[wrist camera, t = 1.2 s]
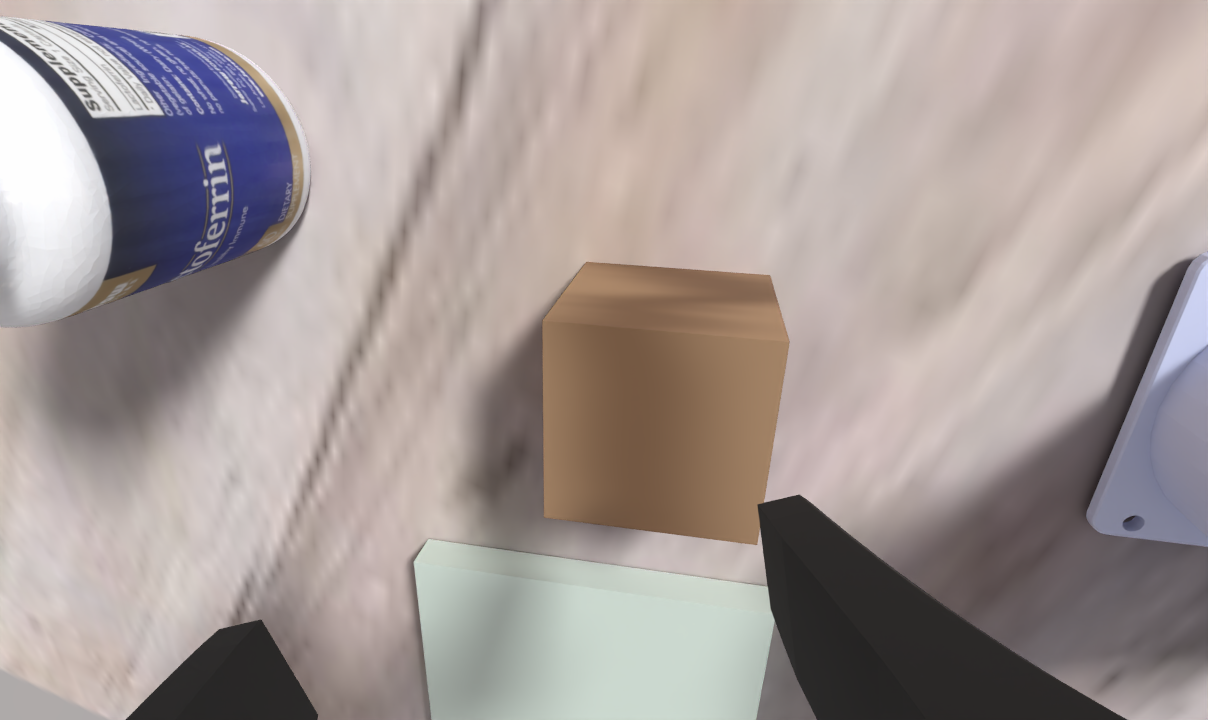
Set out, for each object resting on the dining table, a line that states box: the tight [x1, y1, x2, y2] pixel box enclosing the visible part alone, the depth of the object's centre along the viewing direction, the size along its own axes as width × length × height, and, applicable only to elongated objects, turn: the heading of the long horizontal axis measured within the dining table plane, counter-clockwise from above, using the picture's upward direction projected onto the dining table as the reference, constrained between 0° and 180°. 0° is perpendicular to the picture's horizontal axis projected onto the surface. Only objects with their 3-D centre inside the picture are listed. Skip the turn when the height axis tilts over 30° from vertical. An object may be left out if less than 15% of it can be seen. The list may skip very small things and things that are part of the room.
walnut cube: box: [542, 262, 789, 545], centre depth 16 cm, size 5×5×5 cm
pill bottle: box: [0, 16, 311, 327], centre depth 13 cm, size 6×6×10 cm
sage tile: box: [414, 539, 775, 720], centre depth 23 cm, size 12×12×1 cm
